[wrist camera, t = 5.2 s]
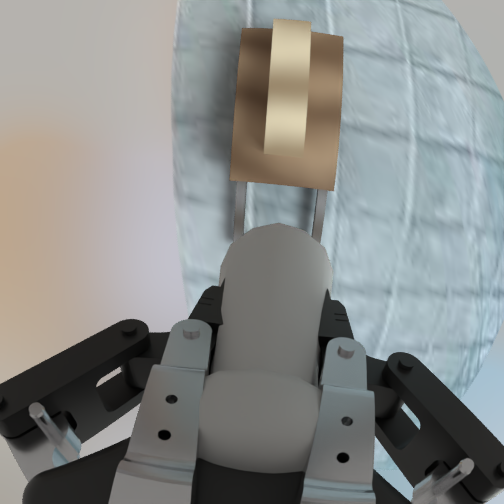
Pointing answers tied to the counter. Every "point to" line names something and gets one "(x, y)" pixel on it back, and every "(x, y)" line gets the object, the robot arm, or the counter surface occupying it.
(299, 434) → the salt shaker
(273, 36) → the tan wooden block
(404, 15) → the counter surface
